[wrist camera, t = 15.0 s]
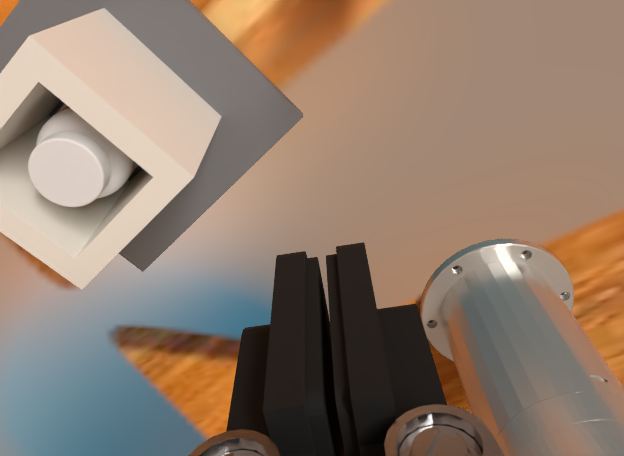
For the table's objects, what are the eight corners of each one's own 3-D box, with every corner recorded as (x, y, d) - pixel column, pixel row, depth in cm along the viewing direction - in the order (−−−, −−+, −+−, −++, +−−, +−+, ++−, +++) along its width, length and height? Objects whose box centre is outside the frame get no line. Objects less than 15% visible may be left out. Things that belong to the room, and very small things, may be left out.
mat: (302, 113, 41) (302, 117, 40) (145, 265, 47) (142, 271, 46) (94, -93, 35) (89, -94, 34) (-57, 110, 41) (-65, 114, 40)
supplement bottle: (83, 156, 40) (22, 217, 31) (73, 78, 38) (4, 122, 29) (161, 160, 40) (121, 222, 32) (155, 83, 38) (111, 128, 29)
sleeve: (221, 116, 40) (194, 177, 30) (133, 207, 43) (81, 290, 33) (104, 7, 37) (29, 35, 27) (17, 115, 40) (-79, 176, 30)
